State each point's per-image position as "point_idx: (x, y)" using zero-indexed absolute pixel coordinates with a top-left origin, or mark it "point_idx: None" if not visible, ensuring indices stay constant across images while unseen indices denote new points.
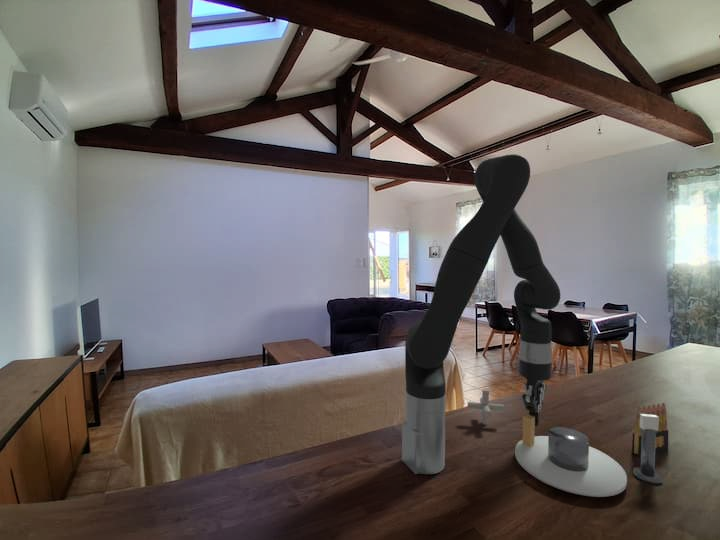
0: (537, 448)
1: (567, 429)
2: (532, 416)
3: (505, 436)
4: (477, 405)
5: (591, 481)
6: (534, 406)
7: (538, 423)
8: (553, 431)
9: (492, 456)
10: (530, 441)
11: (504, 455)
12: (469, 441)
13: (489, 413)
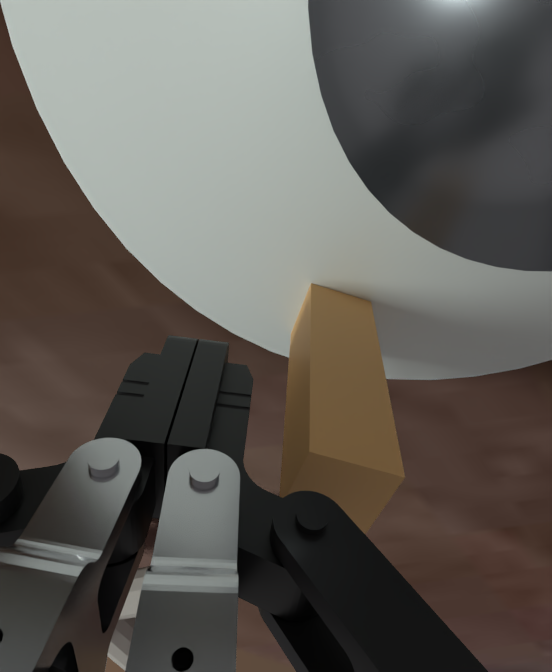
0: (369, 256)
1: (372, 11)
2: (315, 469)
3: None
4: (128, 638)
5: None
6: (457, 639)
7: (209, 349)
8: (549, 214)
9: (480, 434)
10: (374, 324)
11: (439, 390)
12: (373, 527)
13: None
